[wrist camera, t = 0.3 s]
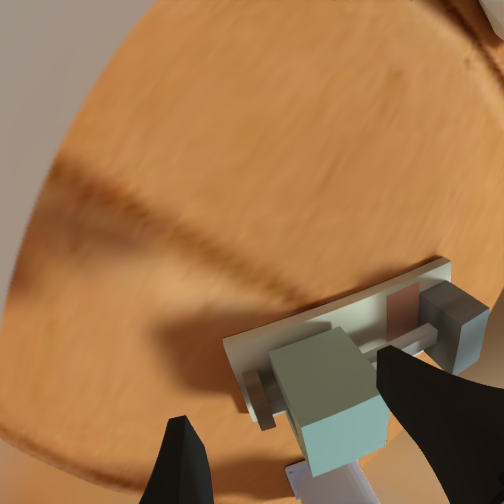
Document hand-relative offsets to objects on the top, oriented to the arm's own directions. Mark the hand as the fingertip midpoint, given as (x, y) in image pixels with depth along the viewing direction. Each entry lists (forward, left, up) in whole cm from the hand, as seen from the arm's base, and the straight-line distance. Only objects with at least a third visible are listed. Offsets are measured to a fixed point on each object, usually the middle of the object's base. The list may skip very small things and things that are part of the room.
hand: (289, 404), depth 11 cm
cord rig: (-7, -7, -10) cm, 14 cm away
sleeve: (-7, -3, -8) cm, 11 cm away
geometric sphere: (+18, -28, -10) cm, 35 cm away
